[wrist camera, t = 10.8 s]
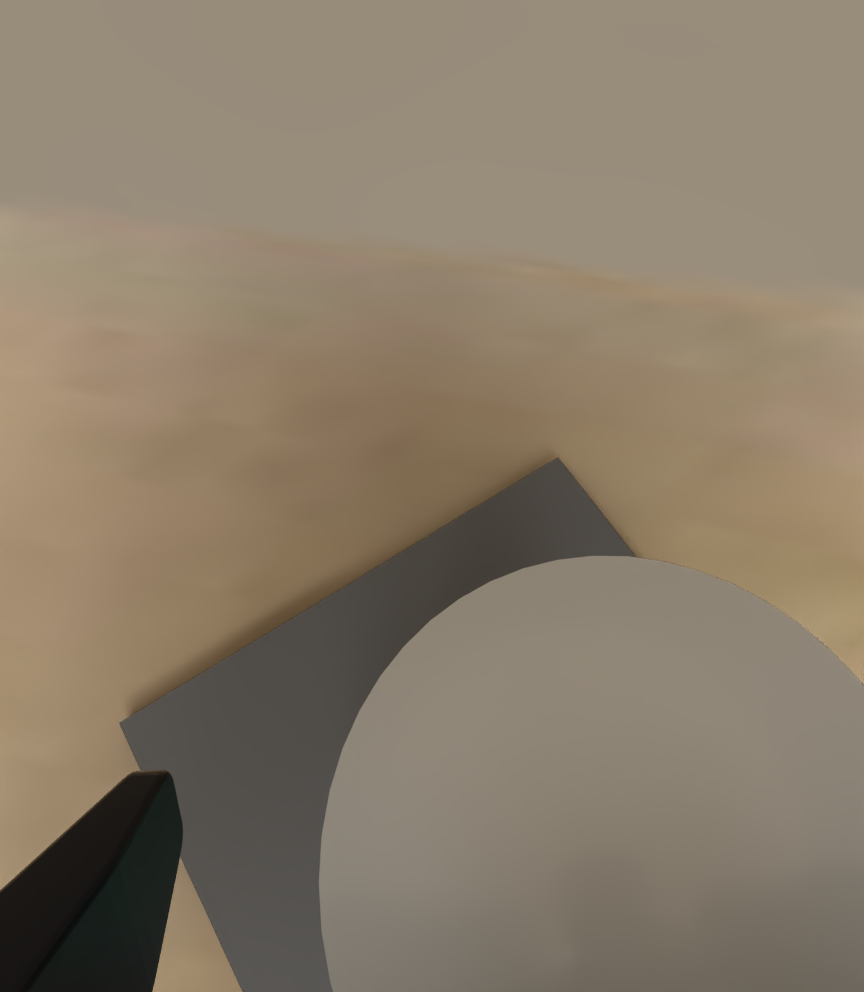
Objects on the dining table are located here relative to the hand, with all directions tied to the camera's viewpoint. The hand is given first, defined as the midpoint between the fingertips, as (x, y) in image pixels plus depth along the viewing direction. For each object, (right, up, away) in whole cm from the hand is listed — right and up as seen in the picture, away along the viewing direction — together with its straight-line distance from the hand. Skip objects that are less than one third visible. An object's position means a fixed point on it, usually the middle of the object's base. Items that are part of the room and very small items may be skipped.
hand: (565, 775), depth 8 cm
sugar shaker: (0, -3, +7) cm, 7 cm away
